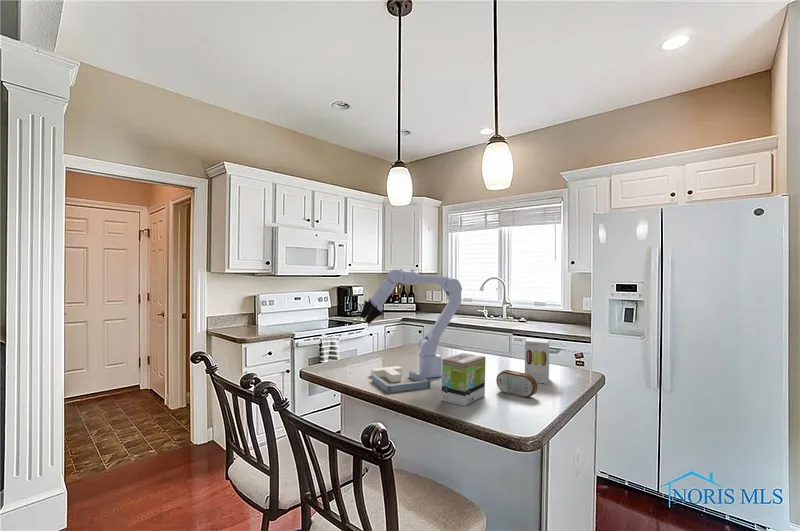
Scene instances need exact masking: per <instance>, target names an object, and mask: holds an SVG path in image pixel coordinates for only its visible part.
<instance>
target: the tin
mask: <svg viewBox="0 0 800 531" xmlns="http://www.w3.org/2000/svg"><path fill="white" fill-rule="evenodd" d="M496 385H497V387H498V389H499V390H500V391H501V392H502V393H504V394H508V395H512V396H517V397H521V398H530V397H532V396H534V395H535V394H536V393H537V391H538V383H536V381H535V379H534V378H533V377H532V376H531V375H529V374H526V373H525V372H521V371H520V372H519V371H514V370H511V369H505V370H502V371H501V372H500V373H498V374H497V376H496Z"/></svg>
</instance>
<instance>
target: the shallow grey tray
mask: <svg viewBox="0 0 800 531" xmlns="http://www.w3.org/2000/svg"><path fill="white" fill-rule="evenodd" d="M416 373H417V372H415V371H412V370H409V371H408V378H410V379H411V380H413V381H411V382H402V383H395V384H388V382H386V381H384V380H383V379H382V378H381V377H377V376H376V375H372V376H371V377H372V378H371V380H372V383H373V384H375V385H377V386H378V387H379V388H380V387H381V388H380V389H382V390H383V391H384V390H385V391H384V392H386V393H387V394H390V393H391V392H392V393H399V392H406V390H408V391H413V390H414V391H416V390H421V389H430V388H431V380H430V379H428V378H424V377H422V376H420V375H418V374H416Z"/></svg>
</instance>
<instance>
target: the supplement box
mask: <svg viewBox="0 0 800 531" xmlns="http://www.w3.org/2000/svg"><path fill="white" fill-rule="evenodd" d="M524 343H525V344H524V345H525V346H524V373H526V374H529V375H531V376H532V377H533V378H534V379H535V381H536V383H537V384H541V383H544V384H543V385H549V381H550V339H545V338H534V337H533V338H531V337H527V338H526V339H525V342H524Z"/></svg>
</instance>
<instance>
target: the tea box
mask: <svg viewBox="0 0 800 531" xmlns="http://www.w3.org/2000/svg"><path fill="white" fill-rule="evenodd" d="M485 386H486V356H485V355H484V356H483V355H477V354H472V353H464V352H462V353H458V354H455V355H452V356H449V357H445V358H443V359H442V376H441V401H443V402H448V403H450V404H454V405H459V406H462V407H463V406H464V407H466V406H467V405H469V404H471V403H472V402H475V401H477V400H478V399H481V398H483V397H484V396H486V395H485V394H486V392H485V391H486V387H485Z"/></svg>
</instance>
